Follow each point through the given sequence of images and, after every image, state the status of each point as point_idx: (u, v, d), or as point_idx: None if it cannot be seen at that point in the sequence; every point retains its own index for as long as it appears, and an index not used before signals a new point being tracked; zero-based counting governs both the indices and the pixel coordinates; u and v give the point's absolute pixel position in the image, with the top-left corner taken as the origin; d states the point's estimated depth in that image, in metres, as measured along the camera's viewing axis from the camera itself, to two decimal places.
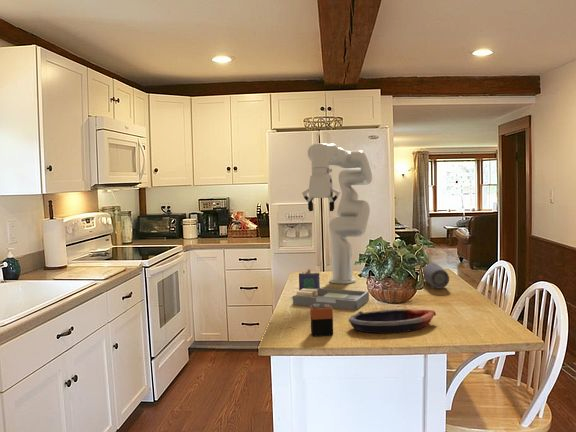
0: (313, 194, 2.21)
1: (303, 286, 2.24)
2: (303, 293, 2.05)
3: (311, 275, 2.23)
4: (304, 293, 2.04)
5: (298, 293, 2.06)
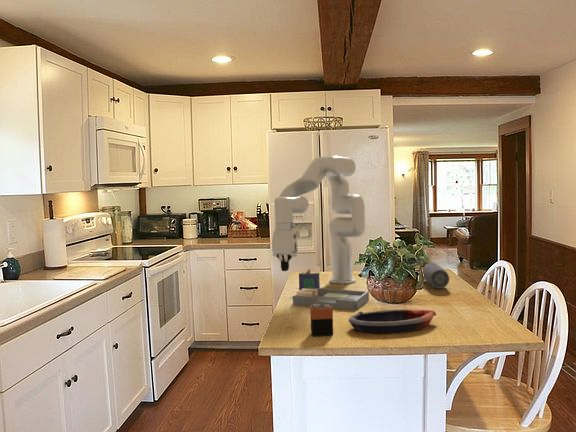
0: (276, 250, 2.09)
1: (303, 286, 2.24)
2: (303, 293, 2.05)
3: (311, 275, 2.23)
4: (304, 293, 2.04)
5: (298, 293, 2.06)
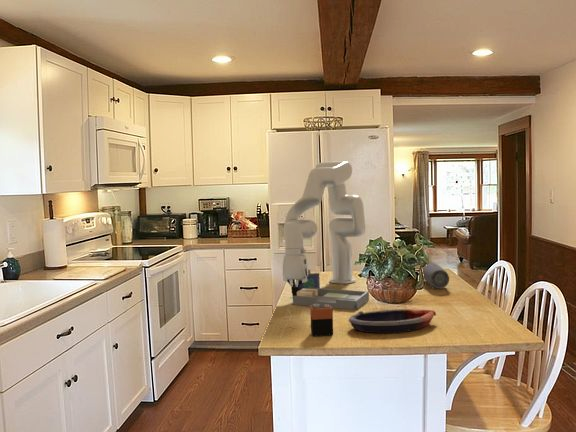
0: (287, 275, 2.08)
1: (303, 287, 2.24)
2: (303, 293, 2.05)
3: (311, 275, 2.23)
4: (304, 293, 2.04)
5: (298, 293, 2.06)
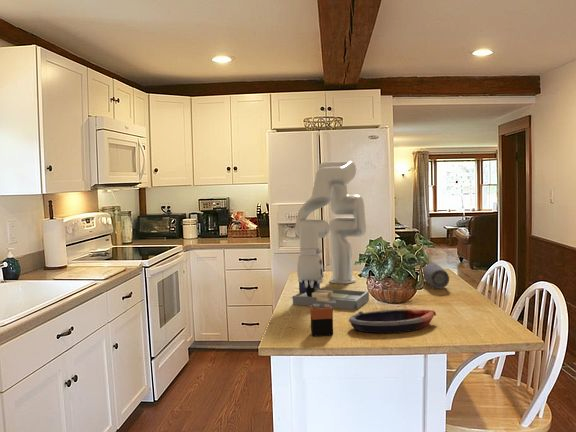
0: (302, 276, 2.05)
1: (303, 287, 2.24)
2: (318, 294, 2.01)
3: None
4: (319, 294, 2.01)
5: (313, 294, 2.02)
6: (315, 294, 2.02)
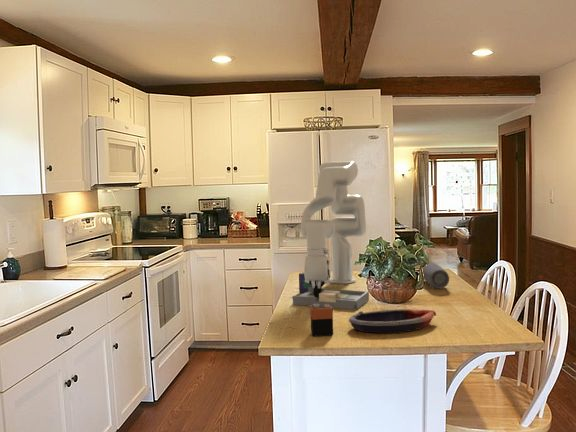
0: (309, 276, 2.04)
1: (303, 287, 2.24)
2: (326, 295, 2.00)
3: None
4: (327, 295, 2.00)
5: (320, 295, 2.01)
6: (322, 295, 2.01)
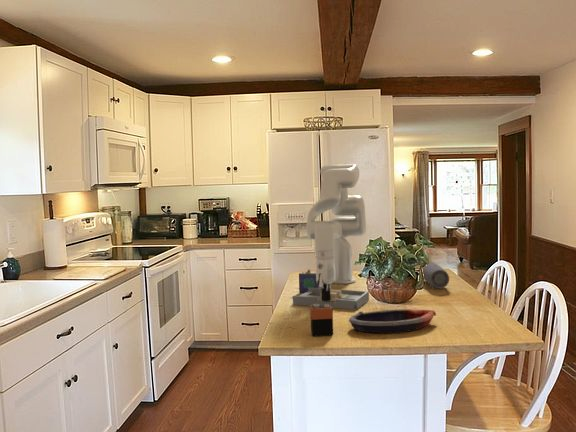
0: None
1: (303, 287, 2.24)
2: None
3: (311, 275, 2.23)
4: None
5: None
6: None
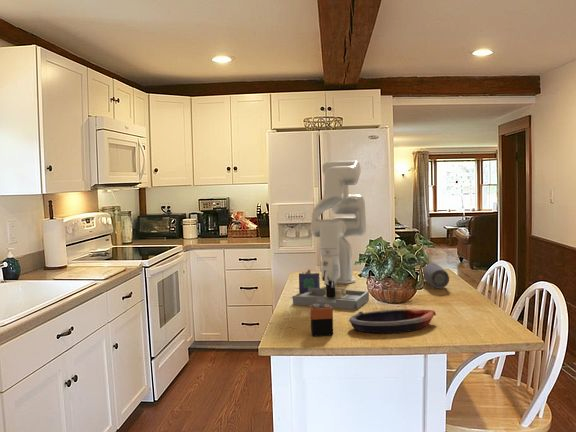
0: None
1: (303, 287, 2.24)
2: None
3: (311, 275, 2.23)
4: None
5: None
6: None
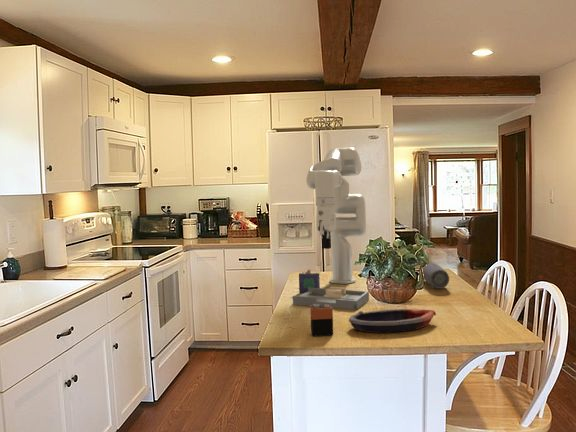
0: None
1: (303, 287, 2.24)
2: (332, 291, 2.06)
3: (311, 275, 2.23)
4: (333, 291, 2.06)
5: (327, 291, 2.07)
6: (329, 291, 2.07)
